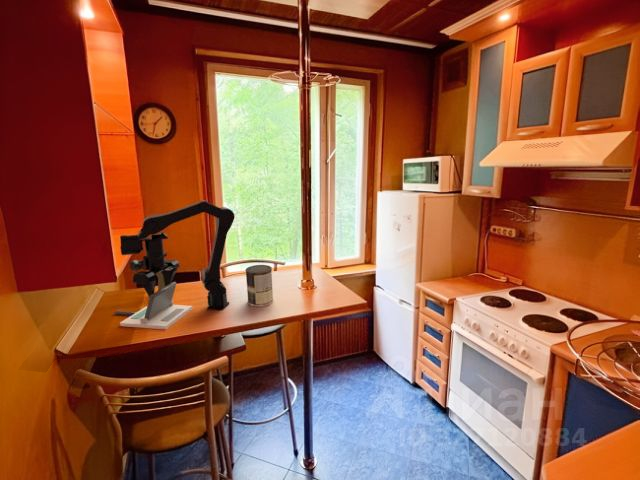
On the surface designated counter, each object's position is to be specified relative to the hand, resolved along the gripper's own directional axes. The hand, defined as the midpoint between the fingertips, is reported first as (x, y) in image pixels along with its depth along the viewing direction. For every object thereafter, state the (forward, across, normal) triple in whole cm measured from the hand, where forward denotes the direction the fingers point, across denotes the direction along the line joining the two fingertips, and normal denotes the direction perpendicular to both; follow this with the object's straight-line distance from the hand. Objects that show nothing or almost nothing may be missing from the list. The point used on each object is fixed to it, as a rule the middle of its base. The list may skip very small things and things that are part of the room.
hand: (159, 293), depth 125 cm
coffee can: (+9, -19, +31) cm, 38 cm away
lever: (+8, 0, -2) cm, 8 cm away
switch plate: (+10, 0, -6) cm, 12 cm away
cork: (+10, -22, -14) cm, 28 cm away
